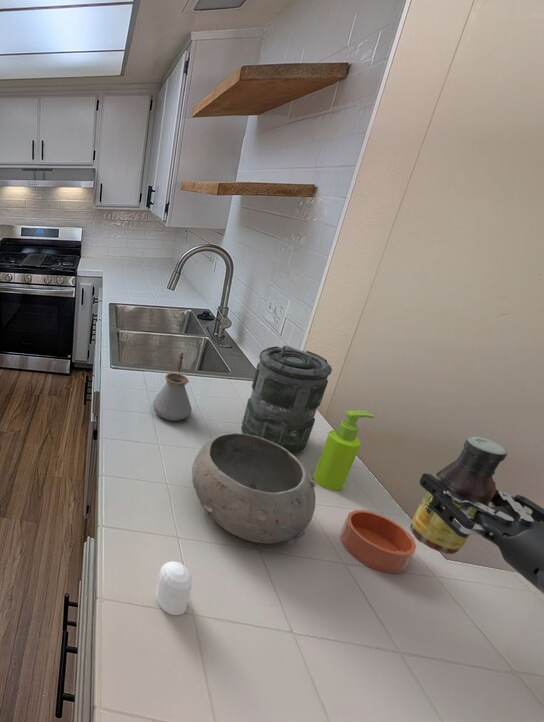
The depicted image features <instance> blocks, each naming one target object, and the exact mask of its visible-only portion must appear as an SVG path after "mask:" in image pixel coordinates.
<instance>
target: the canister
mask: <svg viewBox="0 0 544 722" xmlns="http://www.w3.org/2000/svg"><path fill="white" fill-rule="evenodd" d="M258 358H259V362H258V363H257V364H256V368H255V372H254V376H253V379H252V384H251V389H252V390H251V394H250V397H249V398H247V403H246V407H245V411H244V414H243V418H242V422H241V428H240V429H241V432H242V433H241V434H249V435H253V436H257V437H261V438H263V439H266V440H269V441H271V442H273V443H275V444H277V445H280V446H282V447H283V448H285V449H286V450H288V451H289V452H290V453H291V454H293V455H294V456H297V455H299V454H302V453H303V452H304V451H305V450H306V447H307V445H308V442H309V439H310V436H311V434H312V430H313V428H314V424H315V421H316V418H315V416H316V412H317V410H318V408H319V407H320V406H321V403H322V400H323V397H324V395H325V392H326V389H327V386H328V383H329V380H328V378H329V376H330V375H331V374H332V370H333V368H332V366H331V365H330V364H329V362H328V360H327V359H326V358H324V357H323V356H321V355H319V354H317V353H314V352H312V351H309V350H306V351H304V350H300V349H297V348H295V347H292V346H290V345H287V344H284V345H283V346H282V347H280V346H271V347H270V346H269V347H266V348H264V349H263V350H262V351H261V352H260V353H259V357H258Z"/></svg>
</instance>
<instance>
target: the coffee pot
mask: <svg viewBox="0 0 544 722" xmlns="http://www.w3.org/2000/svg"><path fill="white" fill-rule="evenodd" d="M178 355H179V356H178V358H179V360H178V361H177V367H176V372H170V373H167V374H166V375H165V376H164V379H165V380H166V382H165V384H164V386H163V387H162V388H161V390H159V392H158V394H157V395H156V397H155V398H154V399H153V401H152V407H153V410H154V411H155V412H156V413H157V414H158V416H159V417H160V418H162V419H164V420H165V421H166V420H167V421H171V422H178V421H181V420H184V419H186V418H188V417H190V415H191V413H192V405H191V401H190V399H189V396H188V392H187V389H186V385H187V384H188V383H189V381H190V380H189V378H188V377H187V376H185V375H183V374H180V371H181V369H182V365H183V359H184V357H186V356H187V355H186V354H185V353H184V352H180V353H178Z"/></svg>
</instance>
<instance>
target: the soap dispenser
mask: <svg viewBox="0 0 544 722" xmlns="http://www.w3.org/2000/svg"><path fill="white" fill-rule="evenodd" d="M344 414H345V415H346V417H347V418H346V420H341V421H340V422H339V424H338V428H337V429H333V430H330V431H329V432H328V435H327V437H326V440H325V443H324V446H323V448H322V450H321V454H320V456H319V459H318V462H317V464H316V467H315V470H314V473H313V476H312V477H313V478H312V479H313V481H314V482H315V483H317V484H318V485H319V486H320V487H322V488H325V489H327V490H330V491H336V492H337V491H341V490H343V488H344V486H345V483H346V481H347V479H348V476H349V473H350V471H351V469H352V467H353V463H354V461H355V459H356V456H357V454H358V452H359V449H360V447H361V444H362V441H361V440H360V439H359V438H358V437H357V435H358V431H360V430H359V429H360V427H359V425H358V424H357V421H358V418H367V419H368V418H369V419H374V418H375V415H373V414H372V413H370V412H369V411H366V410H360V409H353V410H344Z"/></svg>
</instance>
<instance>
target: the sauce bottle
mask: <svg viewBox="0 0 544 722" xmlns="http://www.w3.org/2000/svg"><path fill="white" fill-rule="evenodd" d="M508 453H509V452H508V450H507V448H506V447H505V446H503V445H502V444H499V443H498V442H496V441H494V440H491V439H488V438H485V437H479V436H471V437H468V438H467V439H466V440H465V442H464V443H463V449H462V450H461V452H460V454H459V456H458V457H457V458H456V459H455V460H454V461H452V462H451V463H450V464H448V465H446V466H445V467H444V468H442V469H440V470H439V471H438V472H436V474H435V475H434V477H435V478H436V479H437V480H439V481H440V482H441V483H443V484H444V485H445V486H446V487H448V488H449V489H450V491H452V492H454V493H456V494H458V495H459V496H461V497H463V498H465V499H469V498H471V499H474V500H476V501H478V502H480V503H482V504H484V505H486V506H489V507H490V505H489V504H490V503H491V502H490V501H491V500H492V498H493V497H494V495H495V492H496V489H497V486H496V482H495V481H494V477H493V476H494V475H495V473H496V470H497V468H498V466H499V464H500V463H502V462H503V461H505V459H506V458H507V456H508ZM433 497H434V496H433V495H431V494H430V493H429V492H428V491H427V490H426V491H425V494H424V496H423V497H422V499H421V502H420V503H419V505H418V507H417V509H416V511H415V513H414V515H413V517H412V519H411V523H410V526H409V529H410V532H411V534H412V535H413V536H414V537H415V539H416V540H417V541H418V542H420V543H421V544H423V545H425V546H426V547H427V548H429V549H431V550H434V551H436V552H439V553H443V554H446V555H447V554H450V555H454V554H456V553H458V552H459V551H460V550H461V549H462V548H463V547H464V546H465V544H466V543H467V542H468V540H469V538H470V536H471V535H472V534H469V536H468V537H467V538H463V537H461V536H459V535H457V534H456V533H455V532H454V531H453V530H452V529H451V528H450V527H449V526H448V525H447V524H446V523H445V522H444V521H443V520H442V519H441V518H440V517H439V516H438V515H437V514H436V513H435V512H434V511H433V510H432V509H431V508H430V507H429V504H430V502H431V501H432V499H433ZM452 502H453V503H454V504H455V505H456V506H457V507H458V508H461V507H462V505H461V504H460V503H458V502H456V501H454V500H452ZM443 509H445V508H444V507H443ZM476 511H477V509H475V508H472V509H471V510H470V512H469V516H471V517H472V518H473V519H474V514H475V512H476Z"/></svg>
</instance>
